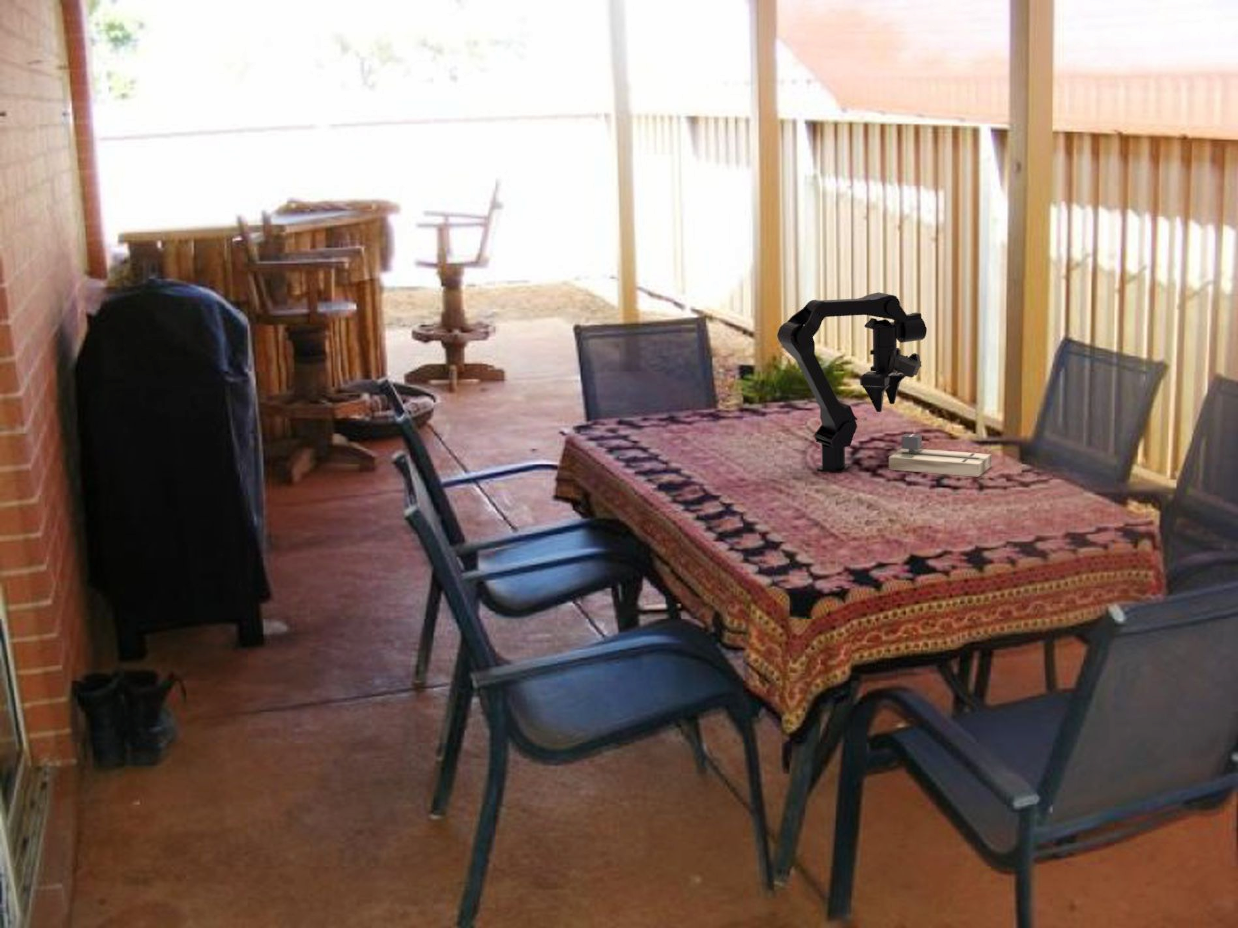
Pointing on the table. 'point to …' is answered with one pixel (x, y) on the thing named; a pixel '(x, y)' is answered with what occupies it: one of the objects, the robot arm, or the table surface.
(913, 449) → the fader knob
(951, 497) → the table surface
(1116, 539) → the table surface
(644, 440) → the table surface
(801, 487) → the table surface
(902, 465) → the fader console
